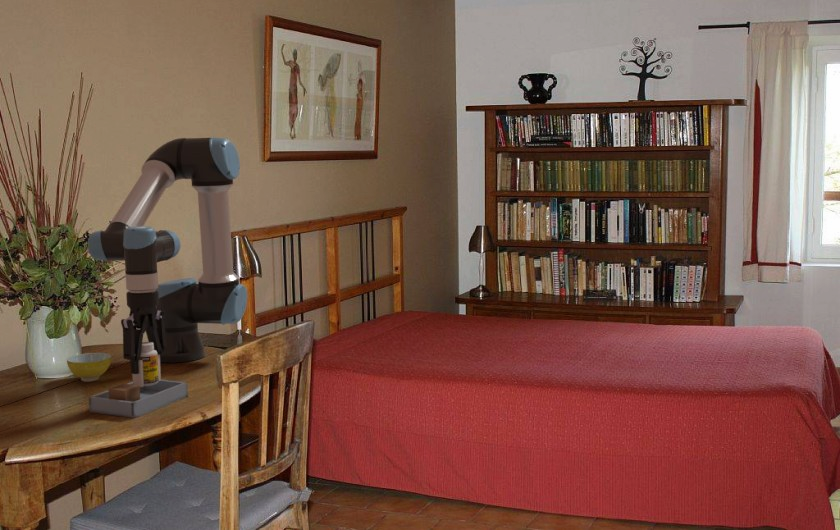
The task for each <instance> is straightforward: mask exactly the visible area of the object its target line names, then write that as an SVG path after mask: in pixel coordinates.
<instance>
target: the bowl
mask: <svg viewBox="0 0 840 530" xmlns="http://www.w3.org/2000/svg"><path fill="white" fill-rule="evenodd" d="M111 362H112V355H111V354H110V353H105V352H87V353H80V354H76V355H72V356H69V357H67V358H66V363H67V364H66V365H67V367H68V369H69V371H70V372H71V373H72V374H74V376H76V377H78V378H80V380H81V381H82V382H85V383H87V382H95V381H98V380H99V379H100V376H102V375H103V374H104V373H105V372H106V371H107V370H108V369H109V367H110V365H111Z"/></svg>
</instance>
